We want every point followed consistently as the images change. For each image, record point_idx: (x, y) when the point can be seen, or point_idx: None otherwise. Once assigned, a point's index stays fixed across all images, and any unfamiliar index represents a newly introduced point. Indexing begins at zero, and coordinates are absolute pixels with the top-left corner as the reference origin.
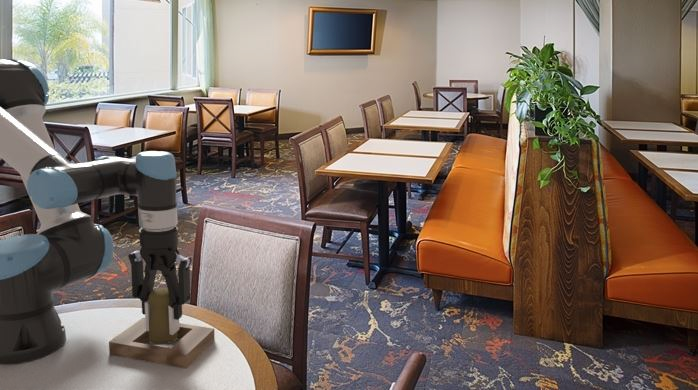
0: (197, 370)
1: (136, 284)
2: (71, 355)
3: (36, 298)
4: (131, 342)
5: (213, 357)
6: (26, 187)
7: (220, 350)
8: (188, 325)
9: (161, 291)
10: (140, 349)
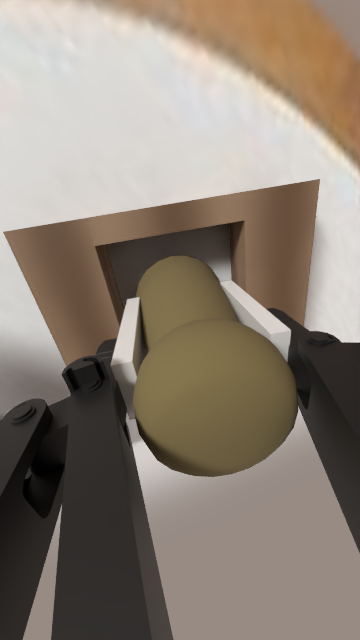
0: (306, 327)
1: (38, 565)
2: None
3: None
4: None
5: (320, 268)
6: None
7: (326, 228)
8: (216, 205)
9: (243, 453)
10: None
